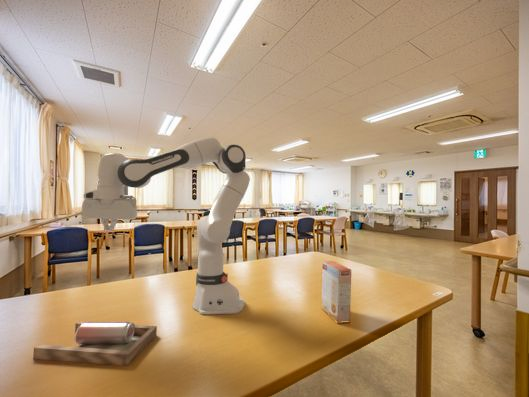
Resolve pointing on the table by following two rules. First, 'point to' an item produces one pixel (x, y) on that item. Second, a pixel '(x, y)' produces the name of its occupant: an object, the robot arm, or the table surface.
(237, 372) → the table surface
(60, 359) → the tray
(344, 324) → the table surface
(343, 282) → the cracker box
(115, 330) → the beverage can
